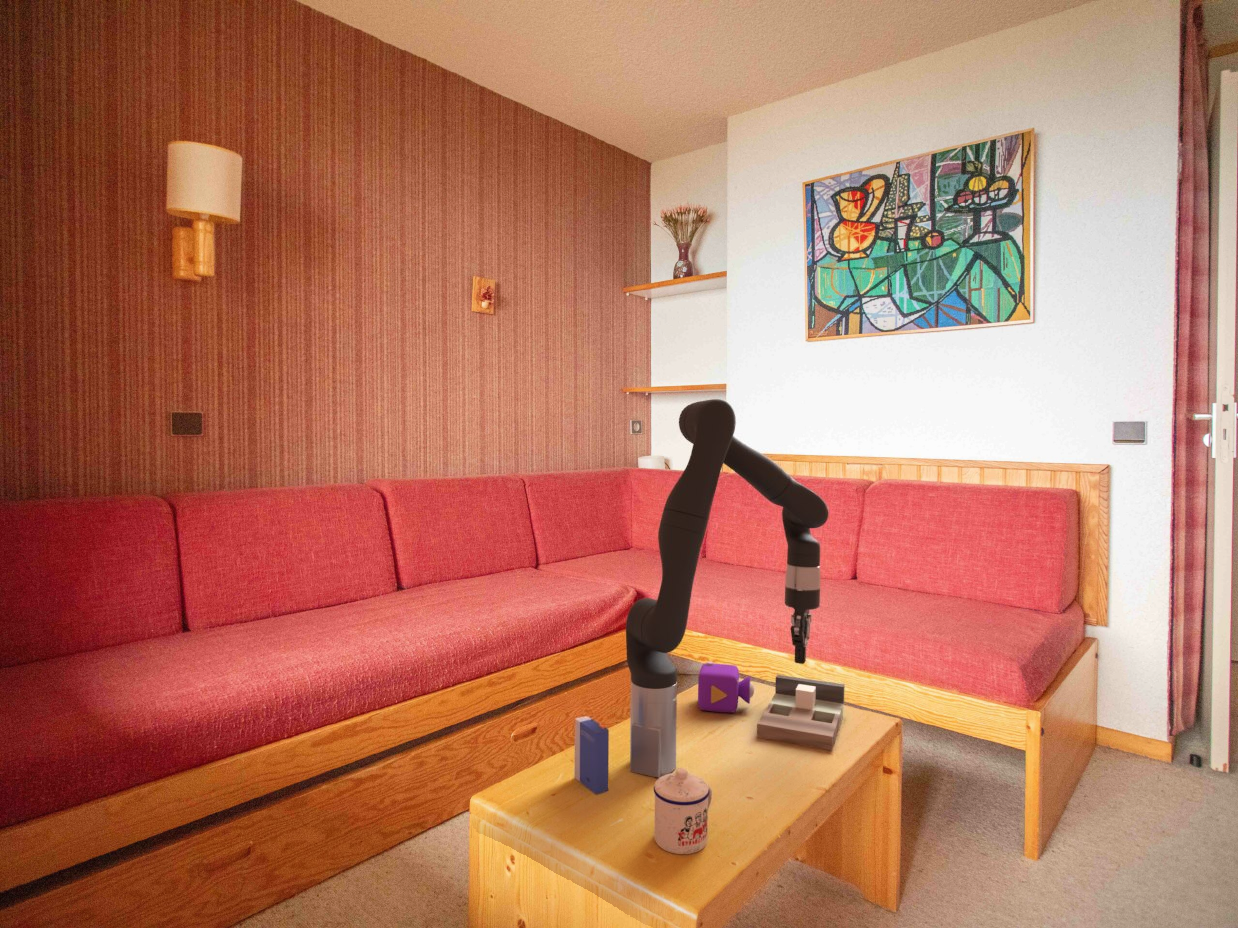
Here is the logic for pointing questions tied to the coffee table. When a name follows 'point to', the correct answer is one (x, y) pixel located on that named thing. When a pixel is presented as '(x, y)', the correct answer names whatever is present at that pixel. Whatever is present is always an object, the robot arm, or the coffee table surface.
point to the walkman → (591, 754)
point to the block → (805, 696)
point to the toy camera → (722, 688)
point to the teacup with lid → (681, 812)
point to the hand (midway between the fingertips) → (800, 662)
